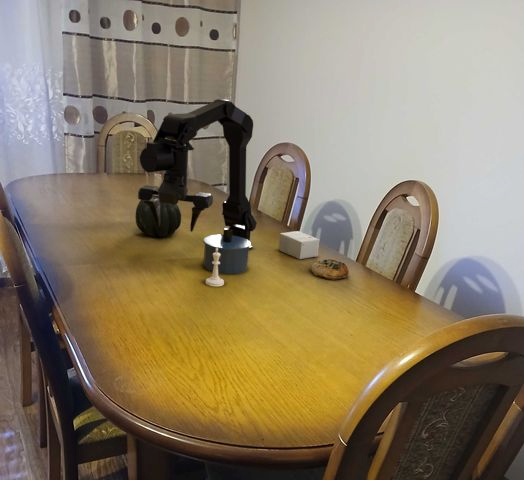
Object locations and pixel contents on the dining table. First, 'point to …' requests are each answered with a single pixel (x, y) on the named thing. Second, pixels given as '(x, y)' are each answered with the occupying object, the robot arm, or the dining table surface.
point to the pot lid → (227, 241)
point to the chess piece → (215, 272)
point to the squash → (168, 219)
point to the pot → (227, 260)
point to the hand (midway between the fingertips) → (174, 228)
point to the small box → (298, 244)
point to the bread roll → (330, 269)
